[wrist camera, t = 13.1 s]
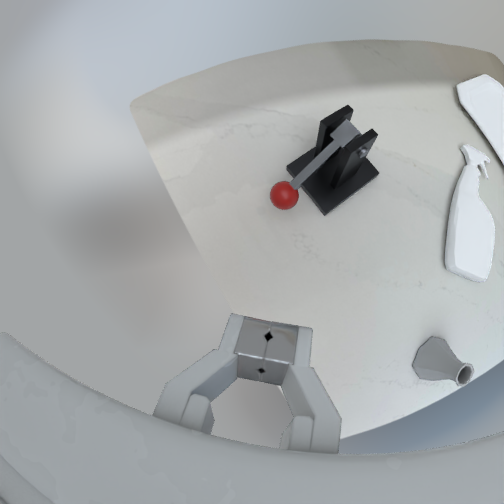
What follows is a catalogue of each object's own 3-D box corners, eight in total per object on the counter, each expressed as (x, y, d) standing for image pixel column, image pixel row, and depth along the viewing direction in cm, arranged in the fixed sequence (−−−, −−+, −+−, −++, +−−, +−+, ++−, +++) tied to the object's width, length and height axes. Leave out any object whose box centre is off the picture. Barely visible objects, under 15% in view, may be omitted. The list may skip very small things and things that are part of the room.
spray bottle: (437, 267, 35) (449, 140, 37) (481, 286, 33) (489, 164, 35) (447, 265, 32) (456, 132, 34) (492, 285, 30) (497, 158, 32)
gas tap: (324, 216, 38) (341, 184, 25) (286, 169, 39) (285, 123, 27) (377, 176, 38) (407, 135, 25) (339, 134, 39) (354, 83, 27)
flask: (430, 328, 34) (466, 338, 24) (455, 349, 33) (491, 362, 23) (404, 368, 34) (434, 388, 24) (431, 387, 32) (462, 408, 23)
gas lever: (289, 214, 36) (277, 216, 33) (273, 193, 37) (259, 194, 34) (368, 141, 28) (363, 135, 25) (347, 120, 29) (340, 113, 26)
